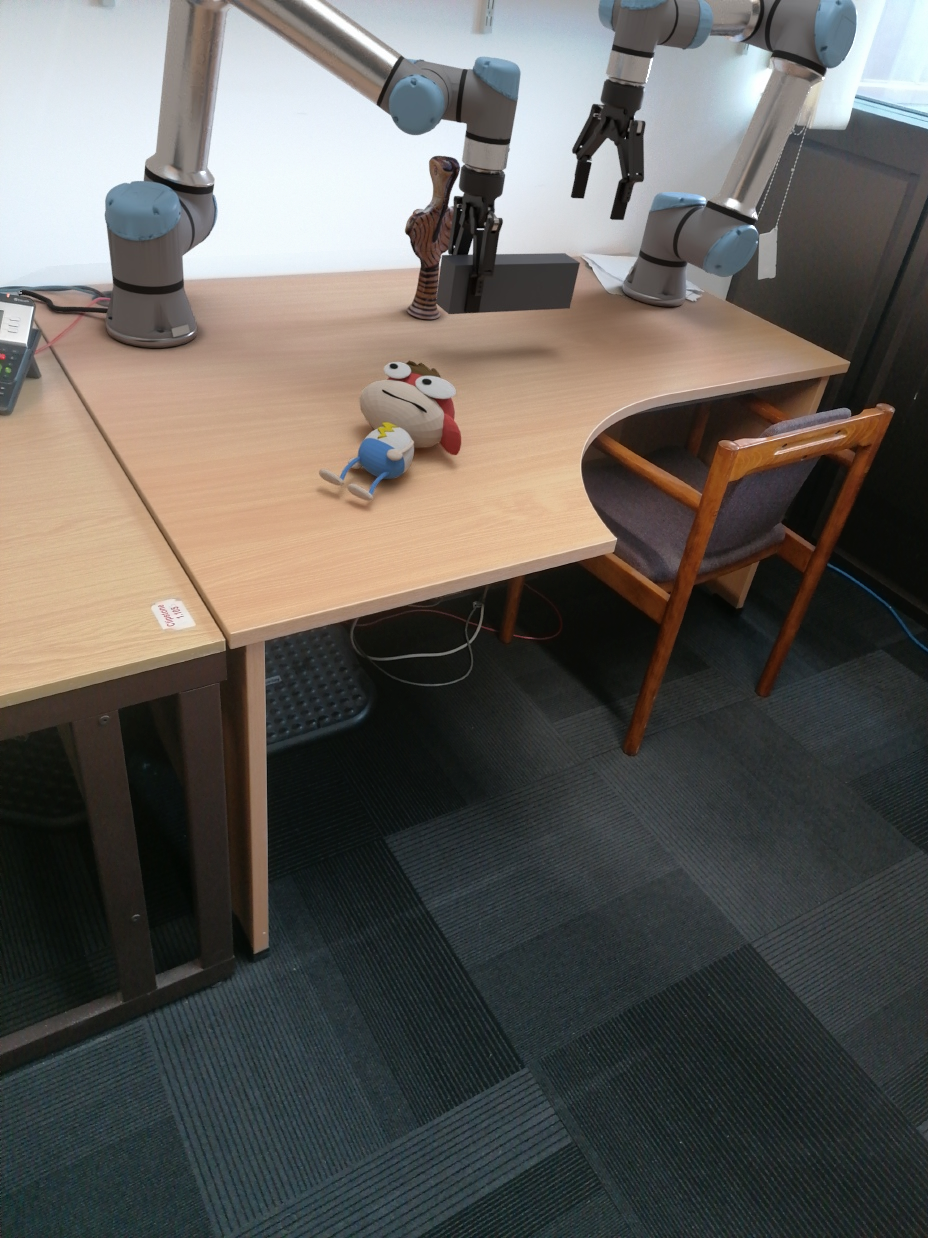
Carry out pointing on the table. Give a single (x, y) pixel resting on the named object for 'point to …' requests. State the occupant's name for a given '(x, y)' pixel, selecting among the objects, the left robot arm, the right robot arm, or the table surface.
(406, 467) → the toy
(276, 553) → the table surface
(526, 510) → the table surface
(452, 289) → the bar
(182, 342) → the left robot arm
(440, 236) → the figurine
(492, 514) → the table surface
